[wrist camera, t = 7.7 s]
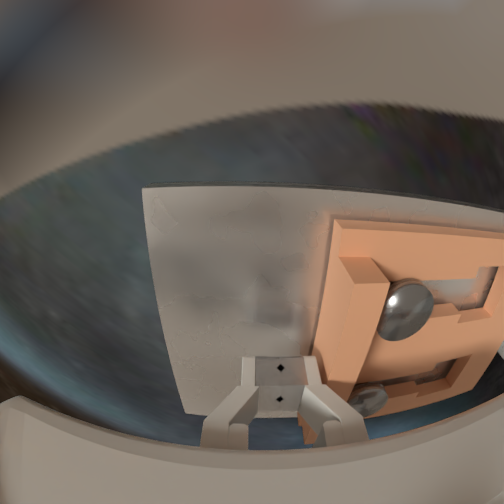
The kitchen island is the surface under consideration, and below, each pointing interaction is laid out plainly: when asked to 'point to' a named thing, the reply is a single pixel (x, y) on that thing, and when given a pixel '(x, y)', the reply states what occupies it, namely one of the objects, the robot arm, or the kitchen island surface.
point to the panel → (372, 301)
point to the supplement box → (501, 350)
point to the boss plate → (281, 276)
